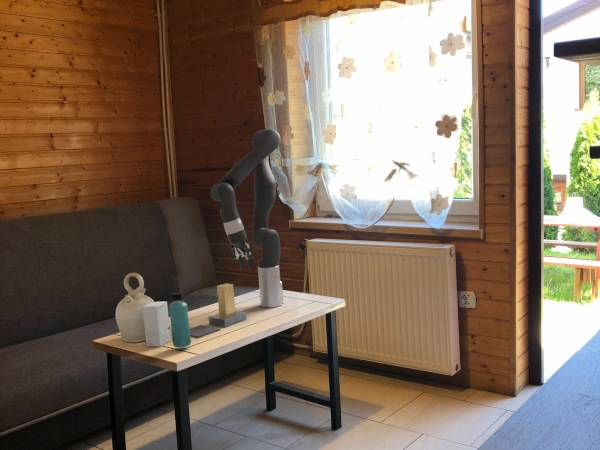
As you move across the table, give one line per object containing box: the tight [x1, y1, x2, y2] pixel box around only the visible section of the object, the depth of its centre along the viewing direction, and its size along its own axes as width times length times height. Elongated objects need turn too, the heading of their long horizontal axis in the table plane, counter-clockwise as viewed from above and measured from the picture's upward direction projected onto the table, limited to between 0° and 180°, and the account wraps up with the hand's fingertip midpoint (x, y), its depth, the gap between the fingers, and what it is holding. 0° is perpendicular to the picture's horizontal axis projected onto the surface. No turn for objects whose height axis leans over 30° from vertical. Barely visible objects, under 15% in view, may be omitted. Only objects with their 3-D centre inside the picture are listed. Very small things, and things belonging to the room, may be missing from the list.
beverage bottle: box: [168, 291, 192, 348], centre depth 225 cm, size 6×7×20 cm
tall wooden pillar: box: [216, 283, 236, 317], centre depth 256 cm, size 5×4×12 cm
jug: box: [115, 272, 155, 344], centre depth 242 cm, size 15×16×25 cm
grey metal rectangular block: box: [208, 310, 248, 328], centre depth 256 cm, size 12×9×3 cm
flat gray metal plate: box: [190, 324, 221, 339], centre depth 245 cm, size 11×11×1 cm
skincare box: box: [142, 301, 172, 348], centre depth 233 cm, size 8×6×15 cm
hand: (247, 267), depth 265 cm, fingers open, 8 cm apart
